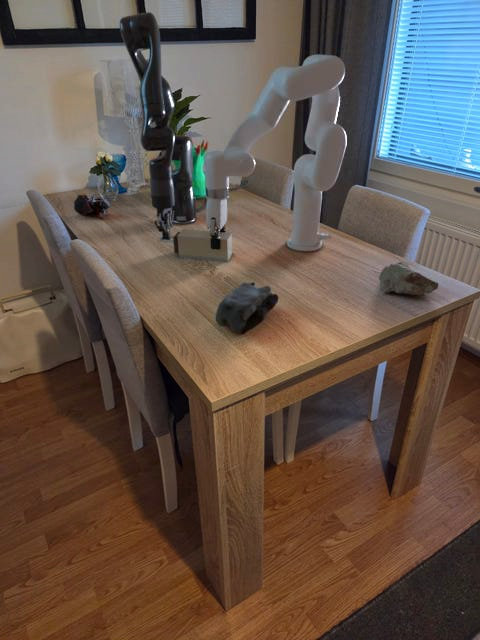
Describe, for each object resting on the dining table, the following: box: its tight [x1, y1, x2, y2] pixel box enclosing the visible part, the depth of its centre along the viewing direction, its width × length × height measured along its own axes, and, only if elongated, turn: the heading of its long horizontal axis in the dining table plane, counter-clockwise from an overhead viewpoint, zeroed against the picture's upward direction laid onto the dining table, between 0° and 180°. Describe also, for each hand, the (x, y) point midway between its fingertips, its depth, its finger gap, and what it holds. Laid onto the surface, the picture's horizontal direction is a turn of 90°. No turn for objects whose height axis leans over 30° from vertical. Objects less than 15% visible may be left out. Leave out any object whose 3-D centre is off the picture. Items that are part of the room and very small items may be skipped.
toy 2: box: [172, 137, 209, 200], centre depth 210 cm, size 20×20×25 cm
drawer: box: [157, 231, 181, 254], centre depth 154 cm, size 22×5×6 cm, turn 77°
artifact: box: [378, 261, 439, 296], centre depth 132 cm, size 18×7×15 cm
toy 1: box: [73, 194, 111, 220], centre depth 187 cm, size 12×9×15 cm
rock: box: [215, 281, 279, 335], centre depth 115 cm, size 18×11×8 cm, turn 152°
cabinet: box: [177, 228, 233, 262], centre depth 153 cm, size 18×6×8 cm, turn 77°
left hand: (166, 241), depth 155 cm, fingers closed
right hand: (218, 244), depth 152 cm, fingers closed on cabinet, 6 cm apart
